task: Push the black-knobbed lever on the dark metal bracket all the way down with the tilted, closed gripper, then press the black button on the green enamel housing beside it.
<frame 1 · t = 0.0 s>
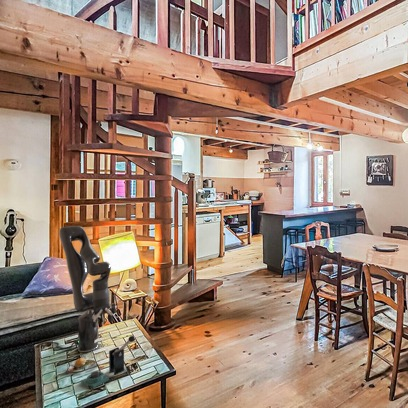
hand: (102, 324, 182), 17 cm above the table, tool pointing down, fingers open, 8 cm apart
bracket: (116, 374, 164), on the table
button: (95, 374, 155), point 4 cm above the table, slide at 0.1 cm
lever: (124, 345, 167), point 13 cm above the table, hinge at 28.0°
button box: (95, 383, 155), on the table
burger: (81, 369, 167), on the table
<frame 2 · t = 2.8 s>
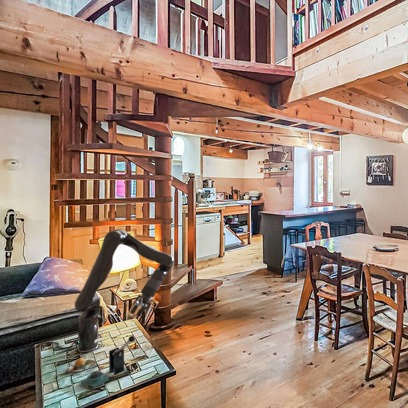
hand: (134, 314, 176), 26 cm above the table, tool tilted 35°, fingers open, 8 cm apart
nothing on the table moved.
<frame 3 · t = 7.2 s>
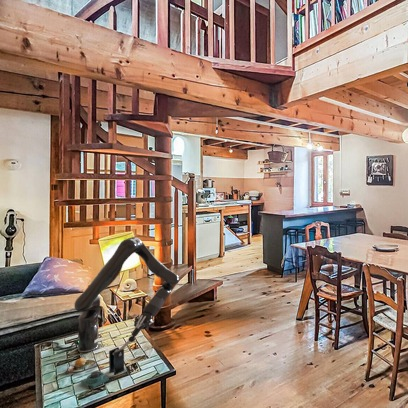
hand: (133, 335, 171), 17 cm above the table, tool tilted 45°, fingers closed
lever: (124, 345, 167), point 13 cm above the table, hinge at 27.2°, touching gripper
everything else where it was.
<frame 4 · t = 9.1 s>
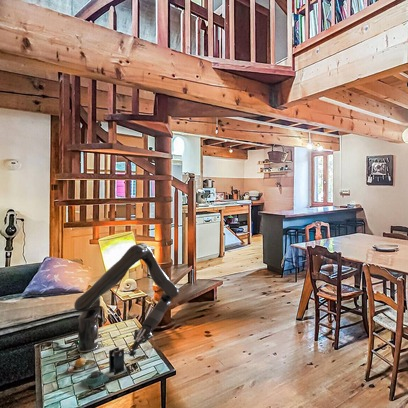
hand: (132, 349, 171), 9 cm above the table, tool tilted 45°, fingers closed
lever: (124, 353, 167), point 9 cm above the table, hinge at -24.3°, touching gripper
everything else where it was.
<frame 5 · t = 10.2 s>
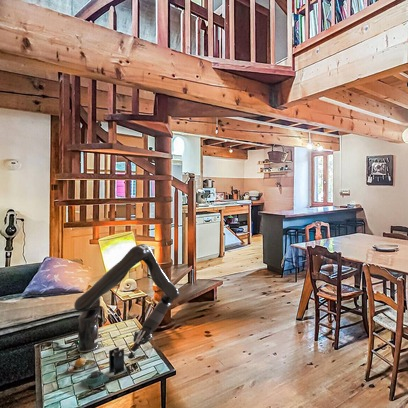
hand: (132, 350, 171), 8 cm above the table, tool tilted 45°, fingers closed
lever: (124, 354, 167), point 9 cm above the table, hinge at -32.6°
everything else where it was.
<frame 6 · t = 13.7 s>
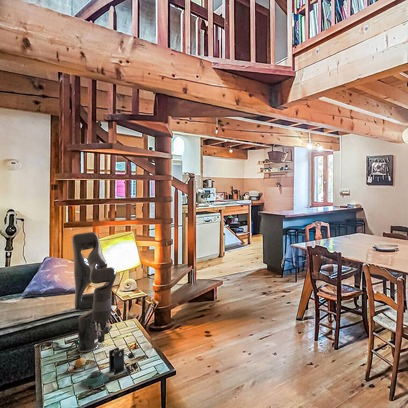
hand: (101, 342, 156), 20 cm above the table, tool pointing down, fingers closed
nothing on the table moved.
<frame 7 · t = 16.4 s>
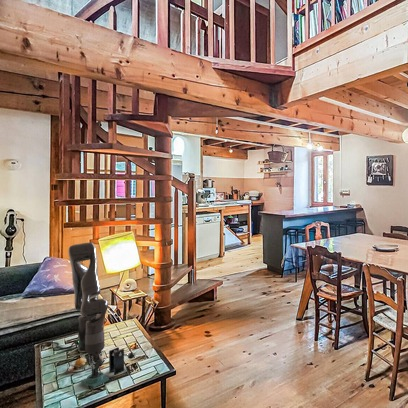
hand: (95, 374, 155), 5 cm above the table, tool pointing down, fingers closed
button: (95, 376, 155), point 4 cm above the table, slide at -0.6 cm, touching gripper
everything else where it was.
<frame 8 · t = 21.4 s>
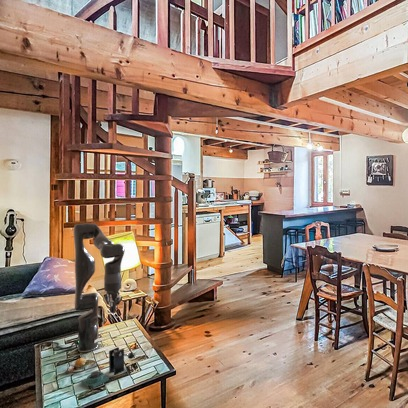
hand: (113, 312, 171), 29 cm above the table, tool pointing down, fingers closed
button: (95, 374, 155), point 4 cm above the table, slide at 0.1 cm
everything else where it was.
at the end: lever at -33° (first picture: +28°); button pushed in 1.1 cm at the most during the clip and back out by the end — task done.
